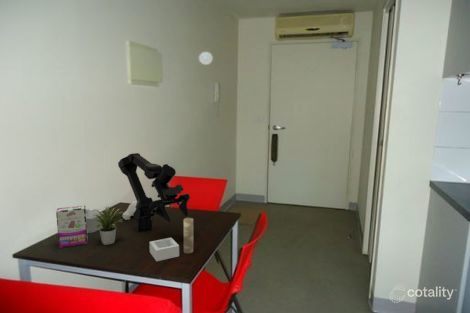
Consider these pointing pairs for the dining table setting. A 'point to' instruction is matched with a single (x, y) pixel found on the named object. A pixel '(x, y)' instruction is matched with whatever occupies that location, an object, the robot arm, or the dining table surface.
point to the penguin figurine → (130, 210)
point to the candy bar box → (72, 226)
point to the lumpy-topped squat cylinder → (92, 220)
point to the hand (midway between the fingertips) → (178, 219)
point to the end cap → (164, 249)
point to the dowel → (188, 235)
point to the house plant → (108, 226)
